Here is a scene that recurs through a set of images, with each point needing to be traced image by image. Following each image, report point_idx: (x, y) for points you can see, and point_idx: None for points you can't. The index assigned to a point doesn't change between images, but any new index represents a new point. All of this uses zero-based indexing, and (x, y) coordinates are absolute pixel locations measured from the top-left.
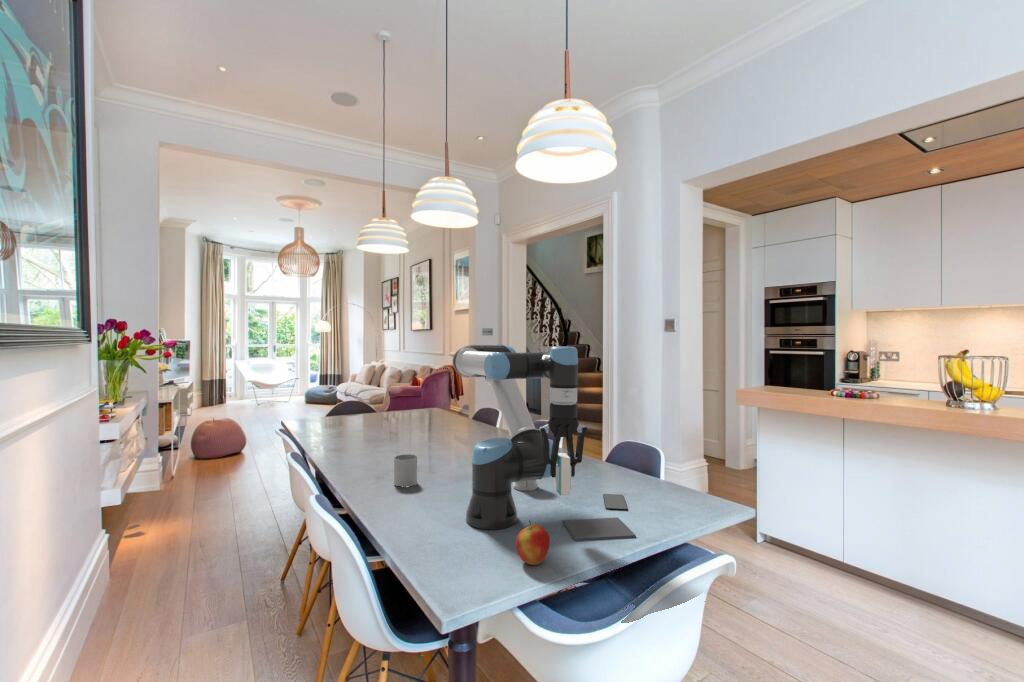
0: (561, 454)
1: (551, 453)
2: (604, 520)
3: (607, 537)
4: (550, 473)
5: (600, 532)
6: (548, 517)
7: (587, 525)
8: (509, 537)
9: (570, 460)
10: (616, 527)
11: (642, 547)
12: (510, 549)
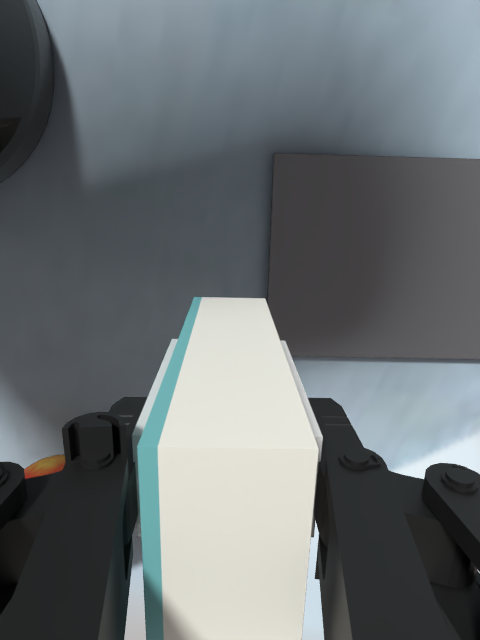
0: (221, 540)
1: (31, 563)
2: (467, 189)
3: (394, 356)
4: (110, 411)
5: (387, 316)
6: (221, 74)
7: (365, 236)
8: (11, 284)
9: (320, 575)
10: (477, 277)
11: (477, 432)
12: (12, 385)
